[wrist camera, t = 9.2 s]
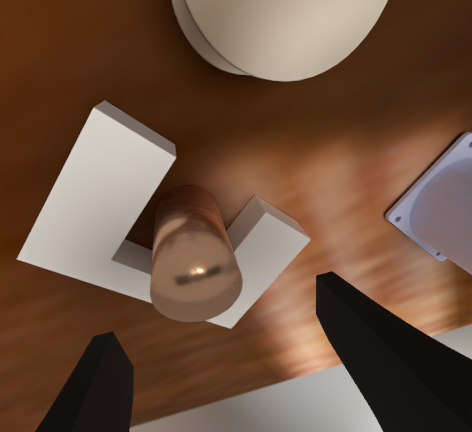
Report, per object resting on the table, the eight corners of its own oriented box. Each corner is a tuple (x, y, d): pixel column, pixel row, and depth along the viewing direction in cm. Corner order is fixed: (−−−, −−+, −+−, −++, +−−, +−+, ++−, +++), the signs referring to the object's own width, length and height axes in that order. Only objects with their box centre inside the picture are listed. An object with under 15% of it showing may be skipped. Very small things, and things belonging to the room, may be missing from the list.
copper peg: (229, 203, 18) (260, 273, 12) (197, 248, 19) (210, 330, 13) (176, 173, 16) (182, 237, 10) (144, 224, 18) (132, 307, 12)
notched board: (295, 220, 20) (311, 239, 18) (224, 303, 23) (230, 328, 20) (104, 100, 14) (93, 107, 12) (36, 233, 16) (16, 259, 14)
